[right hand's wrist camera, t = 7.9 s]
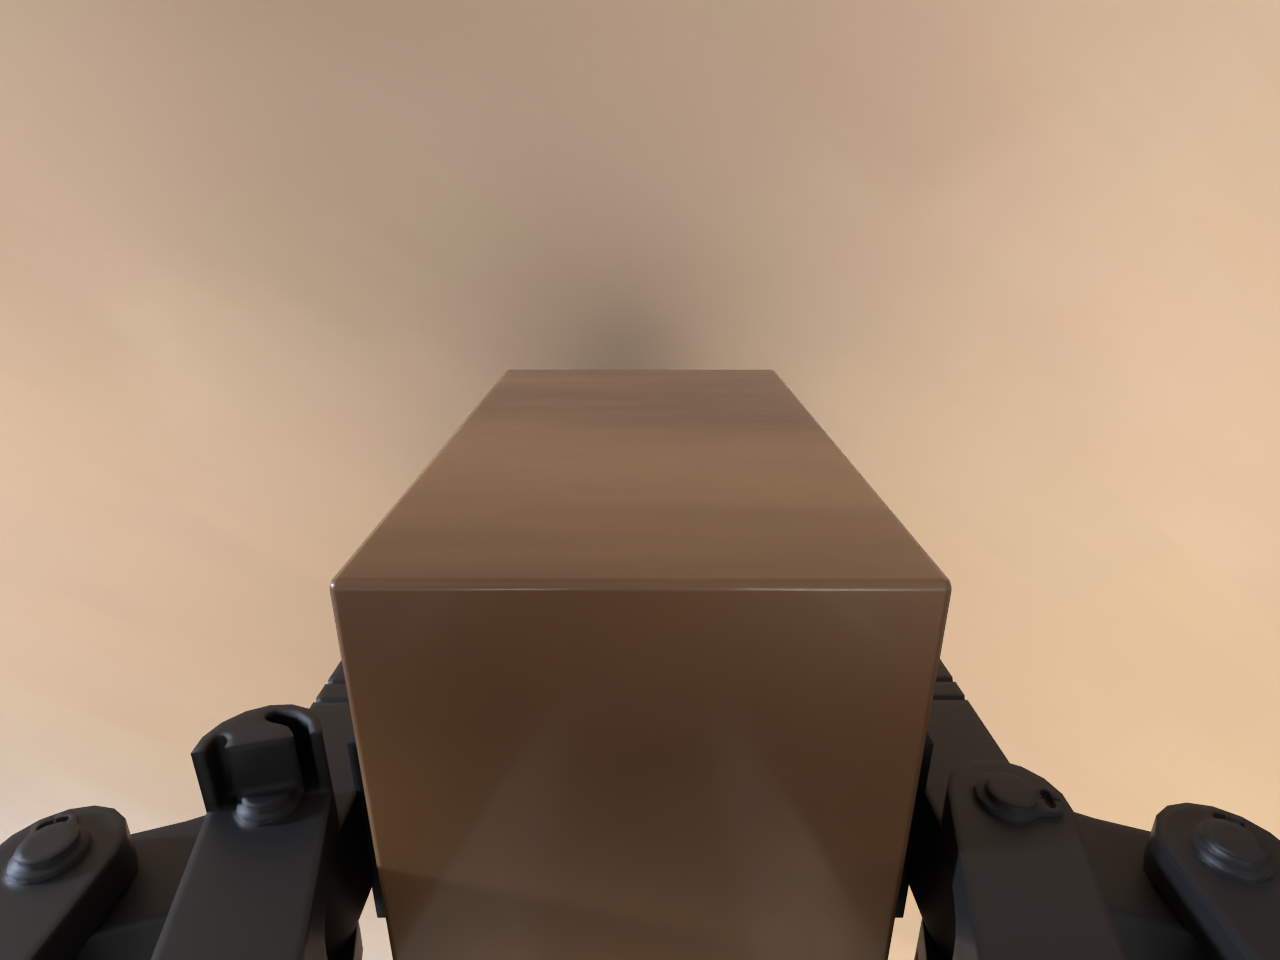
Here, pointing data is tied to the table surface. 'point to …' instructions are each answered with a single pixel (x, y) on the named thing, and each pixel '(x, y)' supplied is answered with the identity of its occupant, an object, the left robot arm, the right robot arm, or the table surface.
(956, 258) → the table surface
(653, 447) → the bar
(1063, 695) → the table surface
